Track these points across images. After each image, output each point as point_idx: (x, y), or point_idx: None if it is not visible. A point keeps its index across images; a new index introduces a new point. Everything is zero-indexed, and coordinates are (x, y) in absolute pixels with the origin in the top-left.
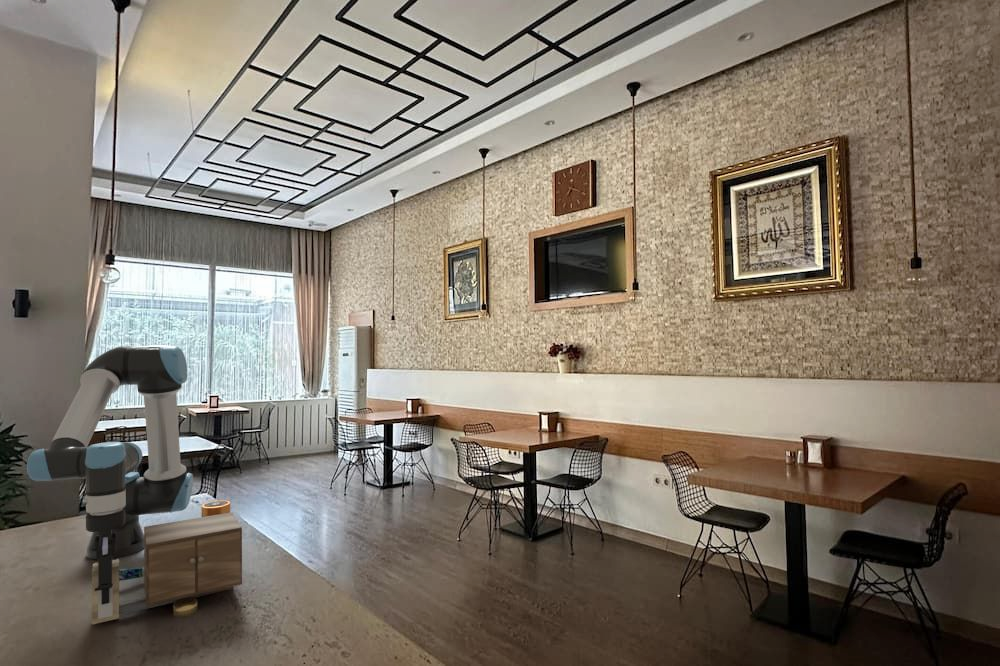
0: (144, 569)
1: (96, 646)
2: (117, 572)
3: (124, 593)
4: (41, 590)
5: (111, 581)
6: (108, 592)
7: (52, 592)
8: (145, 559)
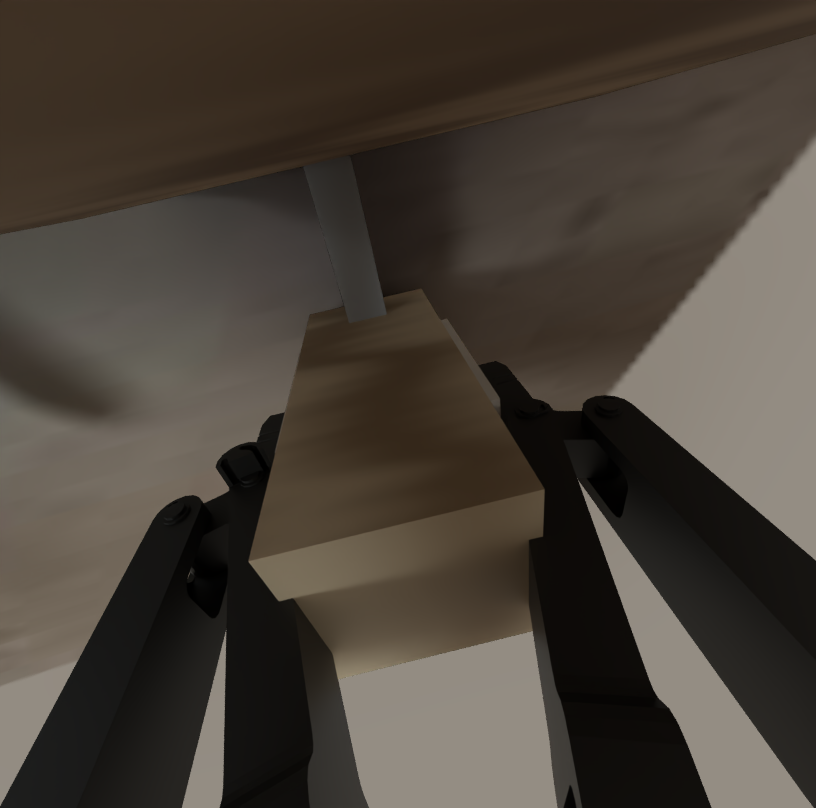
0: (50, 220)
1: (599, 313)
2: (513, 443)
3: (22, 350)
4: (14, 622)
5: (656, 427)
6: (529, 398)
7: (31, 593)
8: (571, 71)
